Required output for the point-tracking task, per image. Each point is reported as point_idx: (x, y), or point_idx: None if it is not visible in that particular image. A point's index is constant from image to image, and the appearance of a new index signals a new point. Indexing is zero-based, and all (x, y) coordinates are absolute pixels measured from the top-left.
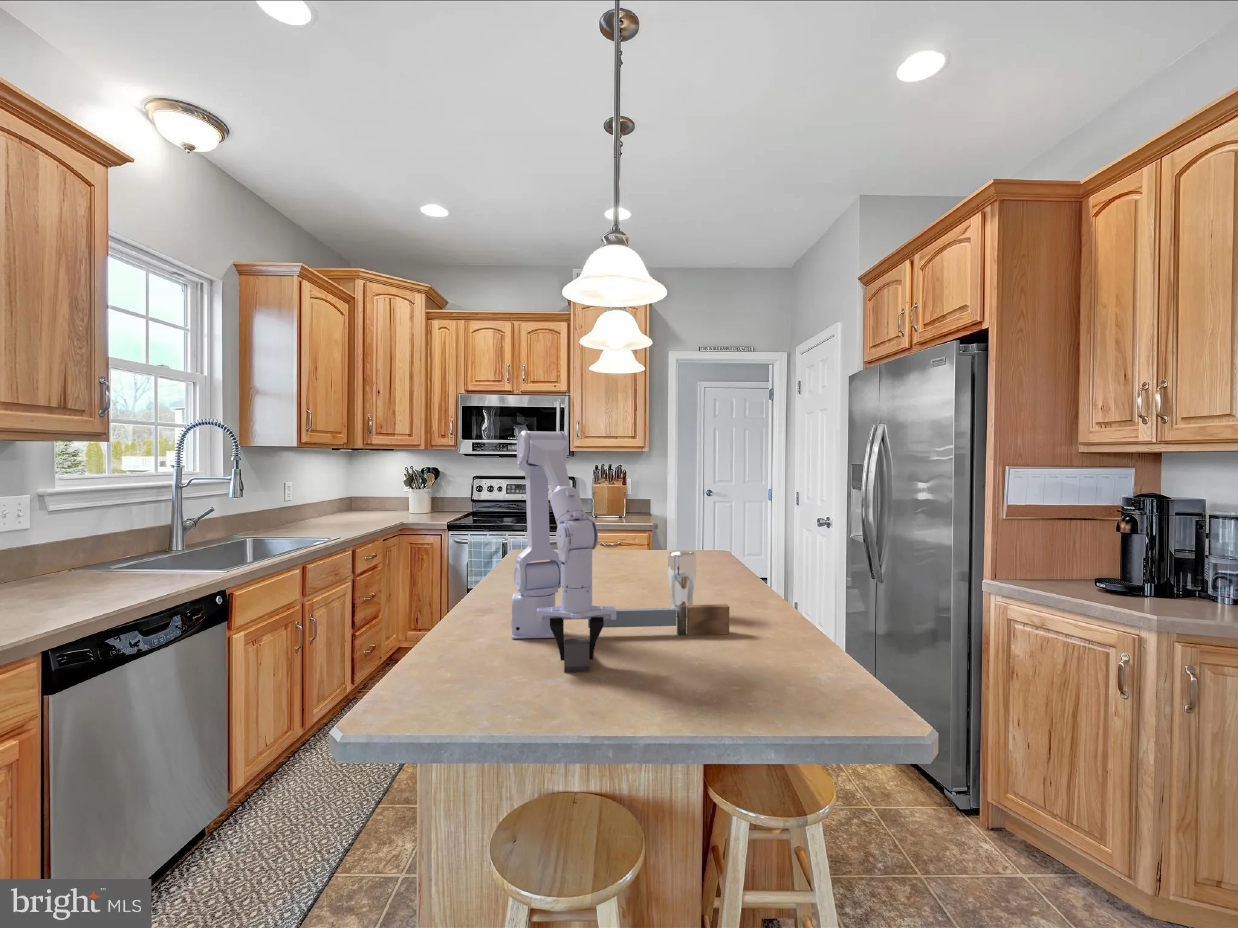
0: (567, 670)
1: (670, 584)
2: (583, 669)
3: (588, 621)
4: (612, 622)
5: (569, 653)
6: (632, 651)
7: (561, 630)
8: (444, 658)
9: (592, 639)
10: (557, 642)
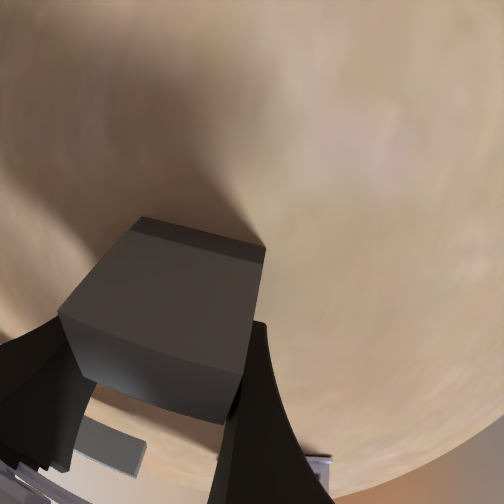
0: (247, 249)
1: None
2: (164, 228)
3: (140, 454)
4: (86, 427)
5: (215, 309)
6: (37, 319)
7: (244, 491)
8: (496, 402)
9: (46, 344)
10: (282, 410)
